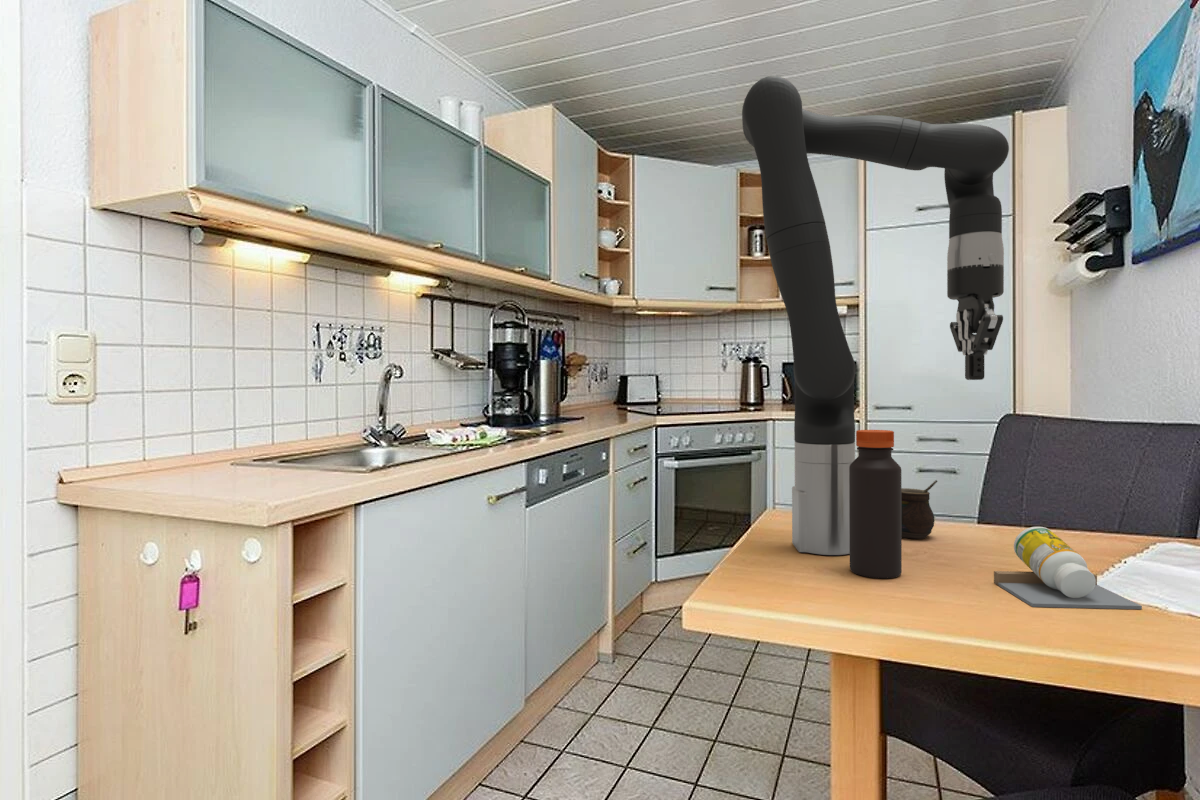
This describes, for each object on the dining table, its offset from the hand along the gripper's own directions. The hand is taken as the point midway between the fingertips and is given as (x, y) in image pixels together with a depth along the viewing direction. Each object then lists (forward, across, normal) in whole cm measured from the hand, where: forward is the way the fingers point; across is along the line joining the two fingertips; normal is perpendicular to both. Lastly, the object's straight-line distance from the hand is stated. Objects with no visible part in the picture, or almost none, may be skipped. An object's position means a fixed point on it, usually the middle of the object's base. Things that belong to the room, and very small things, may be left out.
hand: (974, 379), depth 102 cm
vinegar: (+27, +11, -18) cm, 34 cm away
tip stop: (+27, +20, +2) cm, 34 cm away
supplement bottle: (+22, +13, +2) cm, 26 cm away
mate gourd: (+27, -12, -5) cm, 30 cm away
